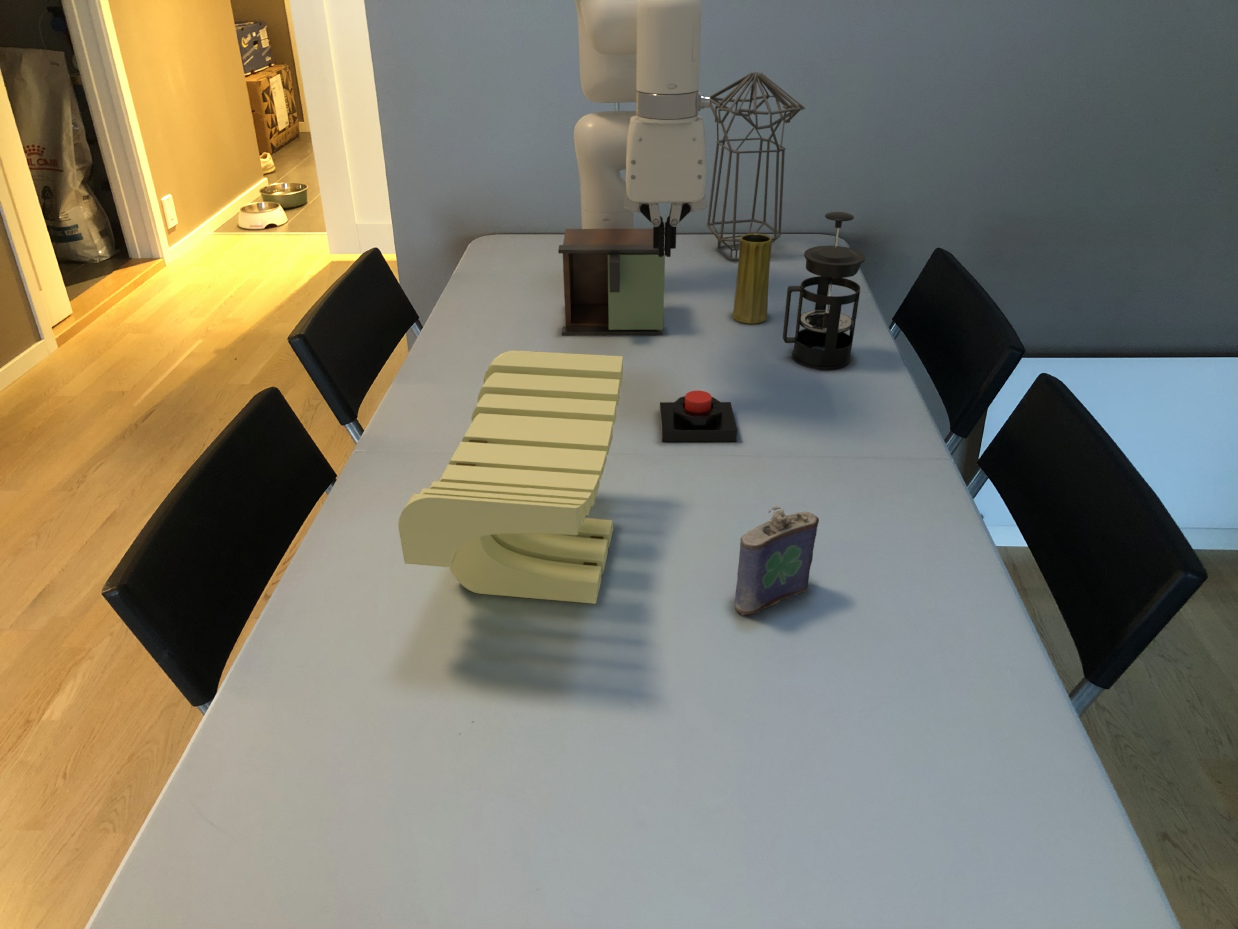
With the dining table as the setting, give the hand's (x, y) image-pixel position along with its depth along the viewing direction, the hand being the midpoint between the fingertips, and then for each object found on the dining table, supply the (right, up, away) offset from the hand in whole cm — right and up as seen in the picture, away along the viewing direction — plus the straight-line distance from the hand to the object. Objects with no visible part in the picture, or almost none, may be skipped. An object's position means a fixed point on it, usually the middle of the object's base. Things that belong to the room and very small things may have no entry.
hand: (664, 253), depth 115 cm
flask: (+10, -42, -25) cm, 50 cm away
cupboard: (-7, -3, +36) cm, 37 cm away
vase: (+17, -2, +37) cm, 41 cm away
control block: (+5, -23, +4) cm, 24 cm away
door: (-3, -6, +30) cm, 30 cm away
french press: (+26, -11, +23) cm, 37 cm away
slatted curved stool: (-15, -39, -20) cm, 46 cm away
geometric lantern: (+20, +16, +67) cm, 72 cm away
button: (+5, -20, +3) cm, 21 cm away
